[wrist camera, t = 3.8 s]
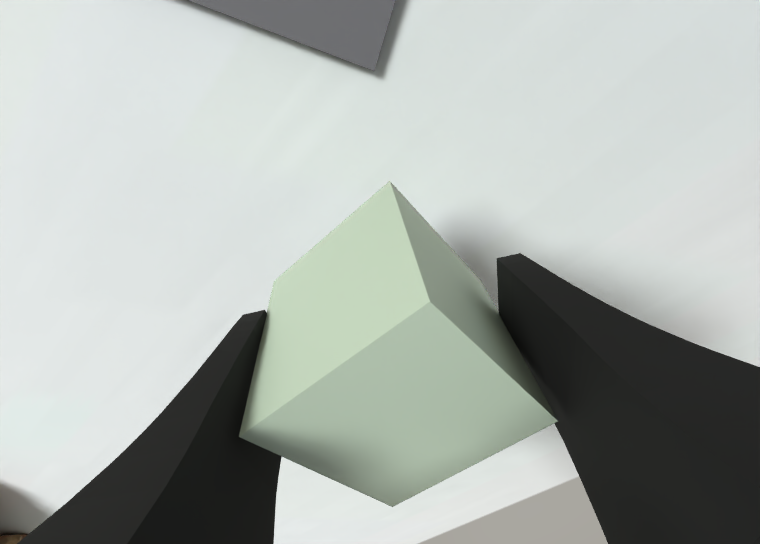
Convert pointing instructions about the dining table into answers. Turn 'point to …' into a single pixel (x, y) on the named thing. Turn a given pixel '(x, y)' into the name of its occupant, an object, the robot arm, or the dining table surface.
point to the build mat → (319, 23)
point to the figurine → (11, 539)
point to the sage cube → (387, 360)
